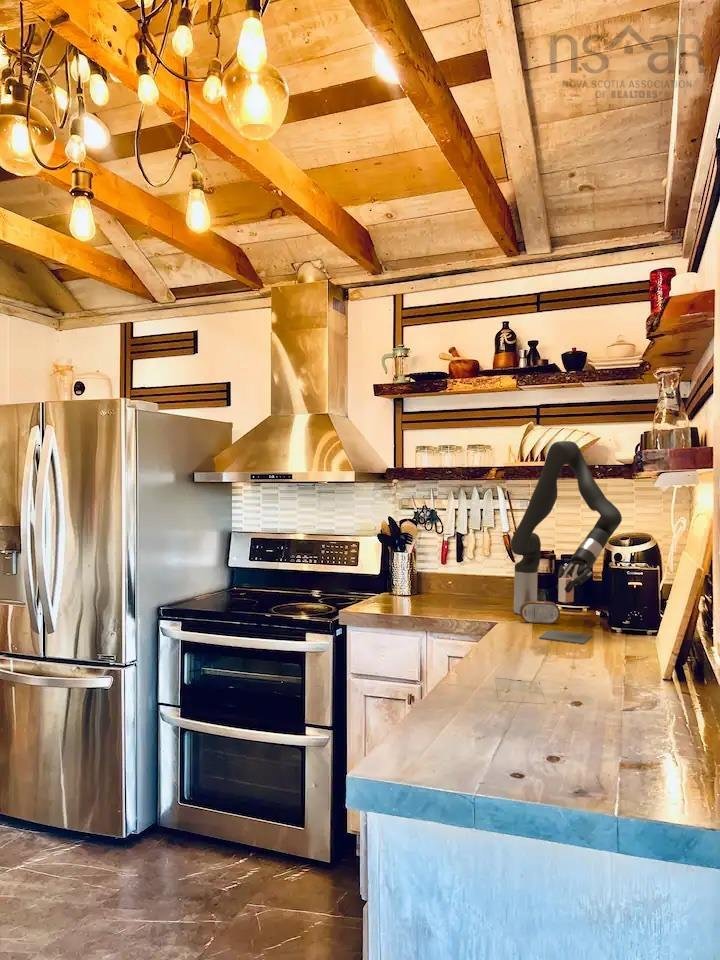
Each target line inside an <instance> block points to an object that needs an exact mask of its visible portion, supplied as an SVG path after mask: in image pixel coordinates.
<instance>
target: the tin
mask: <svg viewBox="0 0 720 960" xmlns="http://www.w3.org/2000/svg"><path fill="white" fill-rule="evenodd" d="M519 615H520V617H521V618H522V620H524V622H526V623H528V622H529V623H530V624H541V625H552V624H554V623H556V622H558V621H559V619H560V617H561V610H560V608H559V607H558V605H557V604H556V602H553V601H545V600H543V601H542V600H537V601H526V602H524V603H523V604H522V605H521V607H520V614H519ZM529 623H528V624H529Z"/></svg>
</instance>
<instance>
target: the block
mask: <svg viewBox="0 0 720 960" xmlns="http://www.w3.org/2000/svg"><path fill="white" fill-rule="evenodd" d="M569 581H571V578H567V577H565V578H558V583H559V590H558V589H557V591H558V593H557V595H558V598H557V600H558V602H561V603H573V602H574V601H575V600H574V595H575V590H574V588H575V586H574V587H573V589H572V590H571V591H570V592H569V593H567V592H566V591H565V587H566V586H567V584H568V583H569Z"/></svg>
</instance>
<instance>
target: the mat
mask: <svg viewBox="0 0 720 960" xmlns="http://www.w3.org/2000/svg"><path fill="white" fill-rule="evenodd" d="M592 636H593V635H592V634H585V633H576V632H569V631H560V630H553V629H548V630H546V631H545V632H544V633H543V634H541V635H540V636H539V637H538V639H539V640H546V641H553V640H554V642H560V641H562V642H561V643H568V642H569V644H576V643H578V644H577V645H583V644H584V645H585V644H586V643H587V642H588V641H589V640H590V639H591V638H592Z"/></svg>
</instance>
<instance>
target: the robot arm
mask: <svg viewBox="0 0 720 960" xmlns="http://www.w3.org/2000/svg"><path fill="white" fill-rule="evenodd" d="M564 466H568V467H569V468H570V469H571V470H572V472H573V473H574V475H575V477H576V480H577V481H576V482H577V487H578V490H579V493H580V496H581V497H582V499H583V500H584V502H585V504H586V505H587V506H588V509H590V510H591V511H592V512H593V511H594V512H595V511H596V512H597V513H598V514H599V518H598V520H597V521H596V522H595V524H594V526H593V528H592V529H591V530H590V531H589V532H588V534H587V535H586V537H585V538H584V540H583V541H582V542H581V543H580V544H579V546H578V547H577V548H576V550H575V551H574V553H573V554H572V556H571V558H570V559H571V561H570V562H568V564H567V565H565V566H564V565H563V564H561V565H559V567H558V568H559V569H558V572H557V578H558V579H559V578H571V581H569V583H568V584H567V586H566V587H565V591H566V592H567V593H569V592H570V591H571V590H572V589H573V587H574V588H575V586H578V585H579V586H580V585H581V586H582V585H583V583H585V582H586V581H588V580H589V579H590V578H591V577H592V576H593V575H594V574H593V572H592V571H591V569H592V567H593V566H594V564H595V563H596V561H597V560H598V558H599V557H600V556H601V553H602V551H603V550H604V548H605V546H606V545H607V544H608V541H609V539H611V536H612V535H613V534H614V532H615V531H616V530H617V528H618V527H619V525H620V524H621V522H622V521H623V520H622V519H623V518H622V514H621V512H620V510H619V509H618V507H616V506H615V505H614V504H613V503H612V501H610V500H609V499H608V498H606V495H605V494H604V492H603V491H602V490H601V488H600V487H599V485H598V483H597V482H596V480H595V479H594V476H593V475H592V473H591V470H590V468H589V467H588V464H587V462H586V460H585V458H584V455H583V452H582V450H581V449H580V447H579V445H578V444H577V443H576V442H574V441H571V440H563V441H555V442H553V443H552V444H551V445H550V447H549V449H548V451H547V454H546V457H545V461H544V464H543V467H542V471H541V473H540V476H539V478H538V481H537V483H536V486H535V488H534V490H533V492H532V495H531V497H530V500H529V503H528V505H527V507H526V510H525V512H524V514H523V515H522V519H521V521H520V522H519V524H518V525H517V528H516V530H515V531H514V533H513V535H512V537H511V541H510V550H511V552H512V553H513V554H514V555H517V556H523V557H522V559H521V560H520V561H518V562H516V563H515V564H514V580H513V581H514V583H513V584H514V586H513V613H514V614H516V613H517V615H520V607H521V605H522V604H523V603H524V602H526V601H538V573H539V572H538V569H539V566H540V563H541V550H542V549H541V548H542V544H541V539H540V537H539V535H538V534H537V533H535V532H534V530H535V529H536V528H537V526H538V525H539V524H540V523H542V522H543V521H544V520H545V519H546V518H547V517H548V516H549V515H550V513H551V512H552V510H553V508H554V507H555V506H554V505H555V504H556V501H557V499H558V479H559V476H560V473H561V470H562V469H563V467H564ZM556 589H557V591H558V590H559V582H558V583H557V585H556Z"/></svg>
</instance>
